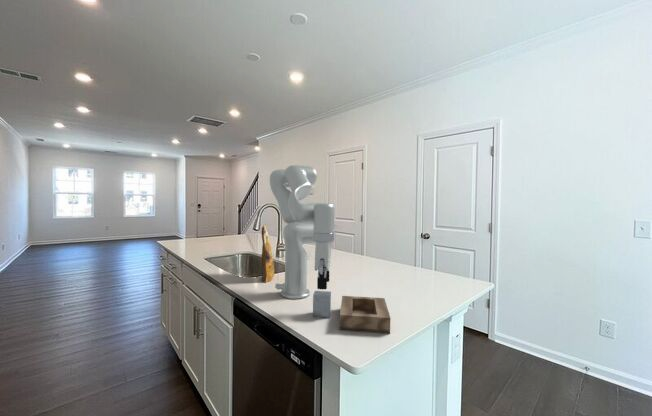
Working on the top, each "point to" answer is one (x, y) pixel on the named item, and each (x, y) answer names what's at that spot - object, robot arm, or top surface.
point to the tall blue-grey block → (322, 304)
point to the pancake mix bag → (266, 257)
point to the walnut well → (364, 314)
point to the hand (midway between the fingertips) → (323, 285)
